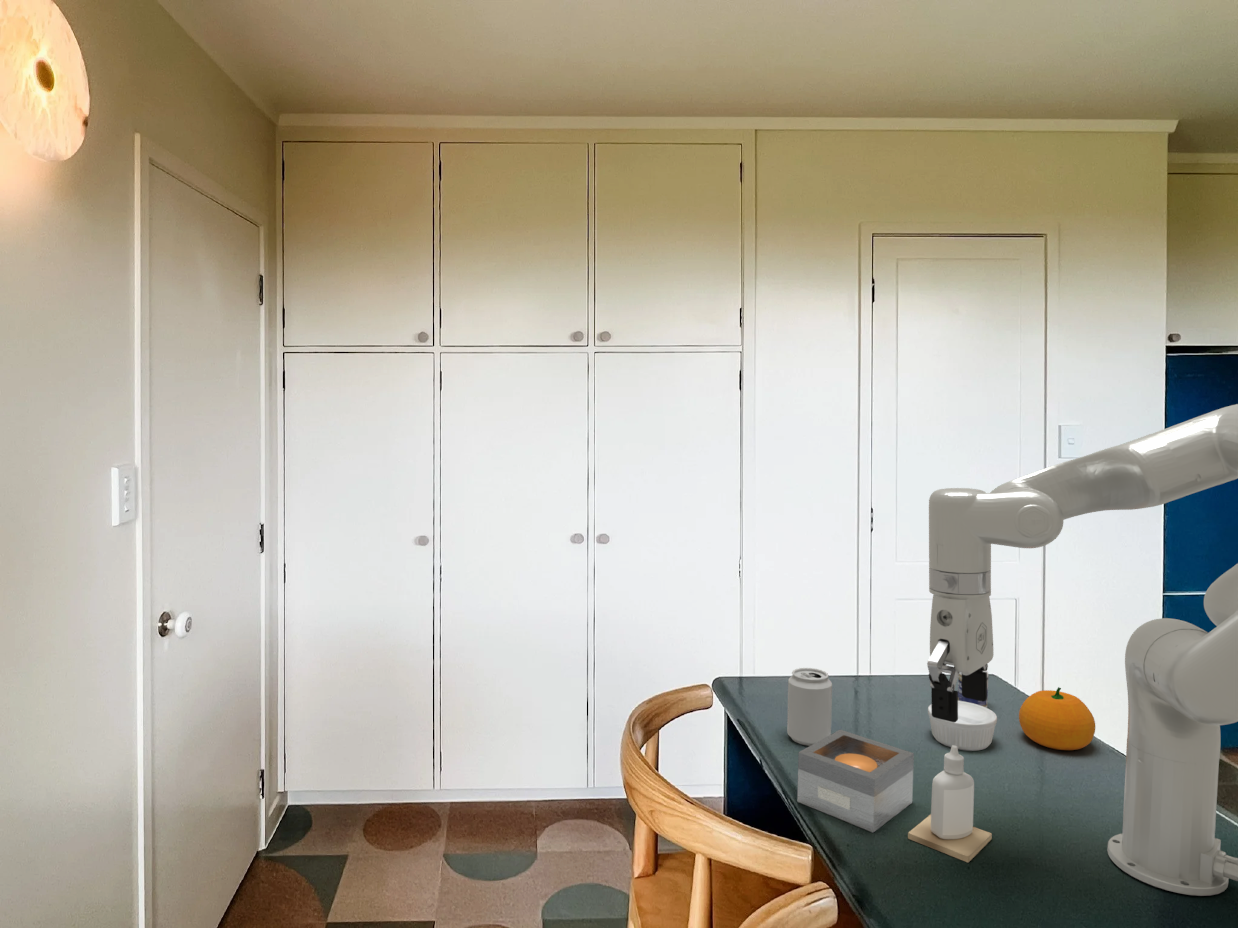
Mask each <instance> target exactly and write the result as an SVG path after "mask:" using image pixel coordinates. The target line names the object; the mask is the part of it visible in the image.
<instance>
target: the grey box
mask: <svg viewBox="0 0 1238 928" xmlns="http://www.w3.org/2000/svg"><path fill="white" fill-rule="evenodd" d="M848 753H851V754H860V755H864V756H867V757H869V758H871V759H873V760H874V761H875V762H876V763H877V768H876V769H874V770H873V771H871V772H867V771H864V770H861V769H859V768H856V767H853V766H850V765H847V764H844V763H842V762H839V761H836V760H835V758H836V757H837V756H838V755H841V754H848ZM797 754H798V755H797V757H798V758H797V759H798V761H797V762H798V763H797V764H798V766H797V803H800V804H802V805H805V806H807V807H809V808H812V809H815V810H817V811H818V812H822V813H824V814H827V815H829V816H831V817H834V818H836V819H839V820H841V821H844V822H845V823H848V824H851V825H853V826H856V827H858V828H860V829H863V830H866V831H868V832H870V833H875V832H876V831H877V830H879V829H880V828H882V827H883V826H884V825H885V824H886V823H888V822H889V821H890V820H892V819H893V818H895V817H896V816H897V815H899V814H900V813H901V812H902V811H904V809H906V808H907V807H908V806H909V805H911V804H913V793H914V792H913V790H914V789H913V788H914V760H915V759H914V758H915V754H914V752H913V751H908V750H906V749H903V748H900V747H895V746H893V745H889V744H886V743H883V742H880V741H877V740H874V739H871V738H867V737H865V736H861V735H858V734H856V733H853V732H849V731H846V730H844V729H839V730H836V731H835V732H833V733H831V735H829V736H827V737H826V738H824V739H822V740H820V741H818V742H816V743H815V744H813V745H811V746H807V747H806V748H803V749H802V750H800V751H798V753H797Z"/></svg>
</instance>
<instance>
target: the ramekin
mask: <svg viewBox="0 0 1238 928" xmlns="http://www.w3.org/2000/svg"><path fill="white" fill-rule="evenodd" d="M927 714H928V717H929V723H930V730H931V734H932V736H933V737H934V738H935V739H934V740H935V741H937V742H938V743H940V744H941V745H943V746H946V747H949V748H951V747H952V745H955V746H957V748H958V750H961V751H969V752H972V751H973V752H975V751H977V752H978V751H981V750H985V749H987V748H988V747H989V746H990V745H991V743H992V742H993V738H994V733H995V728H996V725H997V722H998V716H997V714H996V713H995V712H994V711H993V710H991V709H989V708H988V707H987V708H986V707H983V706H980V705H977V704H973V703H969V702H964V701H958V720H957V721H956V722H950V721H946V720H942V719H938V718H934V717H933V716H932V703H930V704H929V705H928V707H927Z"/></svg>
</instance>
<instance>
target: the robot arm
mask: <svg viewBox="0 0 1238 928" xmlns="http://www.w3.org/2000/svg"><path fill="white" fill-rule="evenodd" d="M1237 479H1238V403H1236V404H1231V405H1229V406H1224V407H1221V408H1219V409H1218V408H1217V409H1215V410H1212V411H1210V412H1207V413H1203V414H1201V415H1198V416H1196V417H1192V418H1190V419H1188V420H1185V421H1183V422H1180V423H1177V424H1174V425H1172V426H1169V427H1167V428H1163V429H1161V430H1158V431H1155V432H1152V433H1149V434H1146V435H1143V436H1141V437H1138V438H1136V439H1133V440H1130V441H1127V442H1125V443H1120V444H1119V445H1114V446H1110V447H1107V448H1103V449H1102V450H1101V449H1100V450H1099V451H1096V452H1095V451H1094V452H1093V453H1090V454H1086V455H1084V456H1081V457H1080V456H1079V457H1076V458H1074V459H1069V460H1067V461H1063V462H1059V463H1057V464H1054V465H1050V466H1048V467H1045V468H1042V469H1040V470H1036V471H1033V472H1031V473H1029V474H1025V475H1023V476H1020V477H1018V478H1015V479H1012V480H1010V481H1007V482H1004V483H1003V484H1002V483H1001V484H1000V485H998V486H997V487H995V488H993V489H992V490H991V491H990V492H986V491H984V490H981V489H977V488H969V487H951V488H949V487H947V488H946V487H945V488H939V489H937V490H934V491H932V493H931V494H930V495H929V499H928V586H929V587H928V591H929V593H930V594H932V601H931V612H930V625H929V626H930V628H929V658H928V660H927V663H926V664H927V665H926V666H927V669H928V678H929V679H928V680H929V687H930V689H931V693H930V694H931V704H932V716H933V717H934V718H938V719H942V720H946V721H950V722H956V721H957V720H958V690H956V685H957V684H958V683H957V682H958V676H959V672H962V696H963V697H965V698H969V699H974V700H978V701H982V702H984V701H986V700H987V672H983V671H988V668H989V665H988V664H989V663H990V662H991V661H992V660H993V657H994V634H993V633H994V632H993V614H992V608H991V607H992V606H991V599H990V597H991V596H992V570H991V569H992V545H999V546H1005V547H1013V548H1021V549H1037V548H1042V547H1045V546H1047V545H1050V544H1051V543H1053V541H1055V540H1056V539H1057V538H1058V537H1059V535H1060V534H1061V533H1062V530H1063V527H1064V520H1067V519H1071V518H1074V517H1077V516H1082V515H1086V514H1089V513H1090V514H1092V513H1097V512H1103V511H1105V512H1106V511H1116V510H1117V511H1129V510H1130V511H1131V510H1132V511H1133V510H1142V509H1147V508H1153V507H1157V506H1161V505H1165V504H1167V503H1169V502H1172V501H1176V500H1179V499H1182V498H1184V497H1186V496H1189V495H1192V494H1195V493H1199V492H1201V491H1205V490H1207V489H1211V488H1213V487H1216V486H1220V485H1223V484H1225V483H1228V482H1231V481H1235V480H1237ZM1203 609H1204V612H1205V613H1206V614H1205V615H1207V617H1208V618H1209V621H1211V622H1212V623H1213V624H1214V625H1215V626H1216V627H1214V628H1213V629H1212V630H1211V631H1209V632H1208V631H1206V630H1204V629H1203V628H1200V627H1199V626H1197V625H1195V624H1193V623H1190V622H1188V621H1185V620H1180V619H1176V618H1168V617H1163V618H1162V617H1161V618H1155V619H1152V620H1149V621H1146V622H1145V623H1143V624H1141V625H1140V626H1138V627H1137V628H1136V629H1135V630H1134V631H1133V633H1132V634H1131V635H1130V637H1129V639H1128V641H1127V644H1126V647H1125V654H1124V655H1125V656H1124V667H1125V680H1126V690H1127V702H1128V703H1127V706H1128V707H1127V708H1128V710H1127V711H1128V712H1127V715H1128V717H1127V737H1126V752H1125V753H1126V754H1125V773H1124V774H1125V775H1124V776H1125V777H1124V791H1123V792H1124V793H1123V795H1124V796H1123V797H1124V798H1123V813H1122V814H1123V815H1122V833H1118V834H1115V835H1114V836H1111V837H1110V838H1109V840H1108V841H1107V849H1106V851H1107V855H1108V857H1109V858H1110V860H1111V861H1112V862H1113V863H1114V864H1115V865H1116V866H1117V867H1118V868H1119V869H1121V870H1122V871H1123V872H1124V873H1126V874H1128V875H1129V876H1131V877H1132V878H1135V879H1136V880H1139V881H1140V882H1143V883H1145V884H1147V885H1150V886H1152V887H1154V888H1158V889H1162V890H1165V891H1169V892H1173V893H1177V894H1182V895H1188V896H1198V897H1204V896H1206V897H1207V896H1214V895H1219V894H1221V893H1223V892H1225V890H1227V888H1228V887H1229V879H1231V880H1233V881H1235V882H1238V857H1235V856H1230V855H1228V854H1227V853H1226V852H1225V851H1223V850H1221V843H1222V840H1221V839H1220V838H1216V837H1215V835H1216V834H1215V833H1216V823H1217V822H1216V820H1217V804H1218V803H1217V800H1218V784H1219V769H1220V768H1219V764H1220V757H1221V726H1225V725H1231V724H1235V723H1237V722H1238V563H1236V564H1235V565H1234V566H1232V567H1231V568H1229V569H1228V570H1226V571H1225V572H1223V574H1221V575H1220V576H1218V577H1217V578H1216V579H1215V580H1214V581H1213V582H1212V583H1211V584H1210V585H1209V587H1208V588H1207V590H1206V591H1205V594H1204V596H1203ZM945 673H946V674H949V678H948V677H947V675H946V674H945Z"/></svg>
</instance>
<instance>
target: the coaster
mask: <svg viewBox="0 0 1238 928" xmlns="http://www.w3.org/2000/svg"><path fill="white" fill-rule="evenodd" d="M992 835H993V834H992V832H989V831H987V830H984V829H980V828H978V827H976V826H973V831H972V833H971V834H970V835H968V836H966V837H964V838H960V839H941V838H939V837H938V836H937V835H935V834H934V833H933V832H932V831H931V813H930V814H929V815H927V817H925V818H924V819H923V820H922V821H921V822H919V823H918V824H916V826H914V827H913V828H912V829H911V830H909V831H908V832H907V840H911V841H913V842H915V843H918V844H921V845H923V846H925V847H928V848H931V849H933V850H935V851H938V852H941V853H943V854H946V855H948V856H950V857H953V858H954V859H957V860H960V861H963V862H966V863H970V861H972V860H973V858H975V857H976V856H977V855H978V854H979V853H980V852H981V850H982V849H984V847H986V846H987V845H988V843H989V842H991V840H992V839H993V838H992Z"/></svg>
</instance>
